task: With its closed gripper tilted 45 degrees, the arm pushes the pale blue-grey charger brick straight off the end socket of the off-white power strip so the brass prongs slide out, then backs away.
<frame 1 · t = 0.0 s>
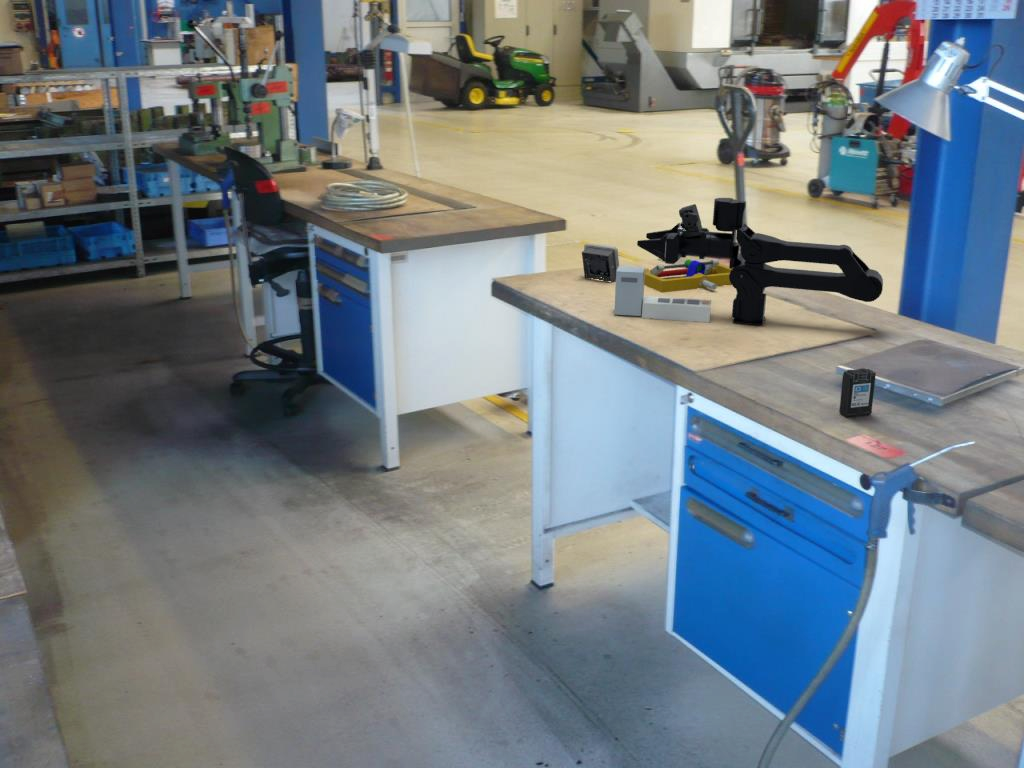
hand: (642, 239, 241), 17 cm above the workbench, tool horizontal, fingers open, 9 cm apart
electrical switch: (600, 280, 274), on the workbench
power strip: (676, 316, 242), on the workbench
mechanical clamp: (687, 287, 271), on the workbench
charger: (634, 291, 242), point 5 cm above the workbench, slide at 0.0 cm
ink cartridge: (854, 415, 184), on the workbench
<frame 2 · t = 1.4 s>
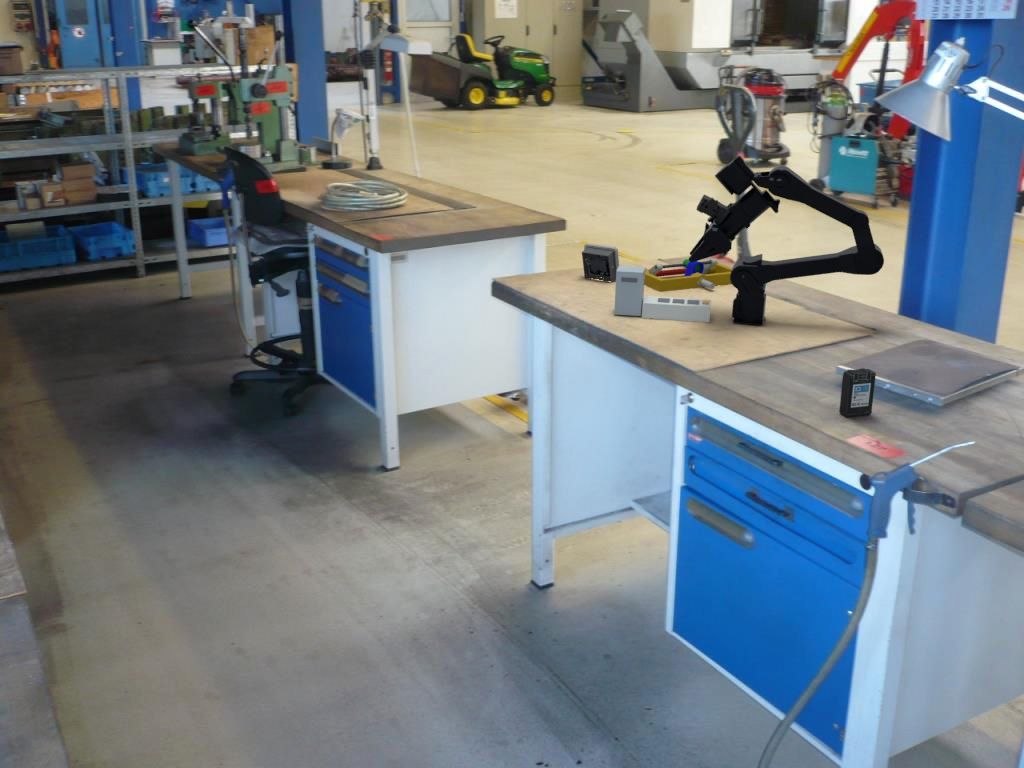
hand: (690, 258, 237), 14 cm above the workbench, tool tilted 45°, fingers open, 6 cm apart
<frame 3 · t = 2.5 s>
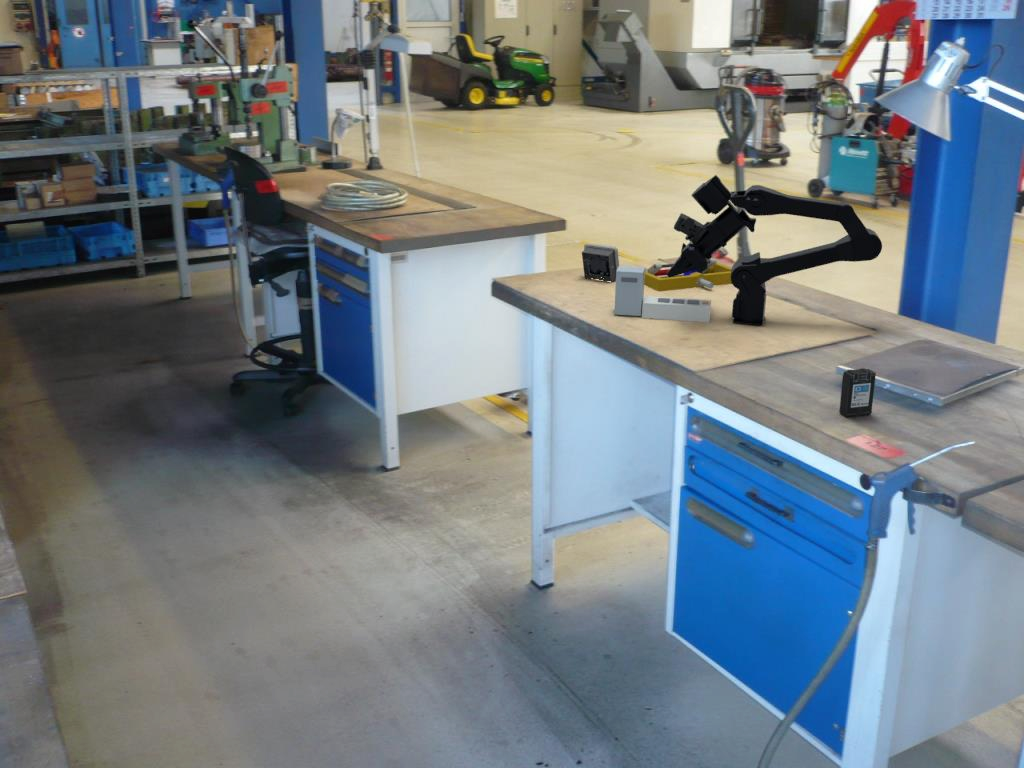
hand: (667, 275, 239), 9 cm above the workbench, tool tilted 45°, fingers closed
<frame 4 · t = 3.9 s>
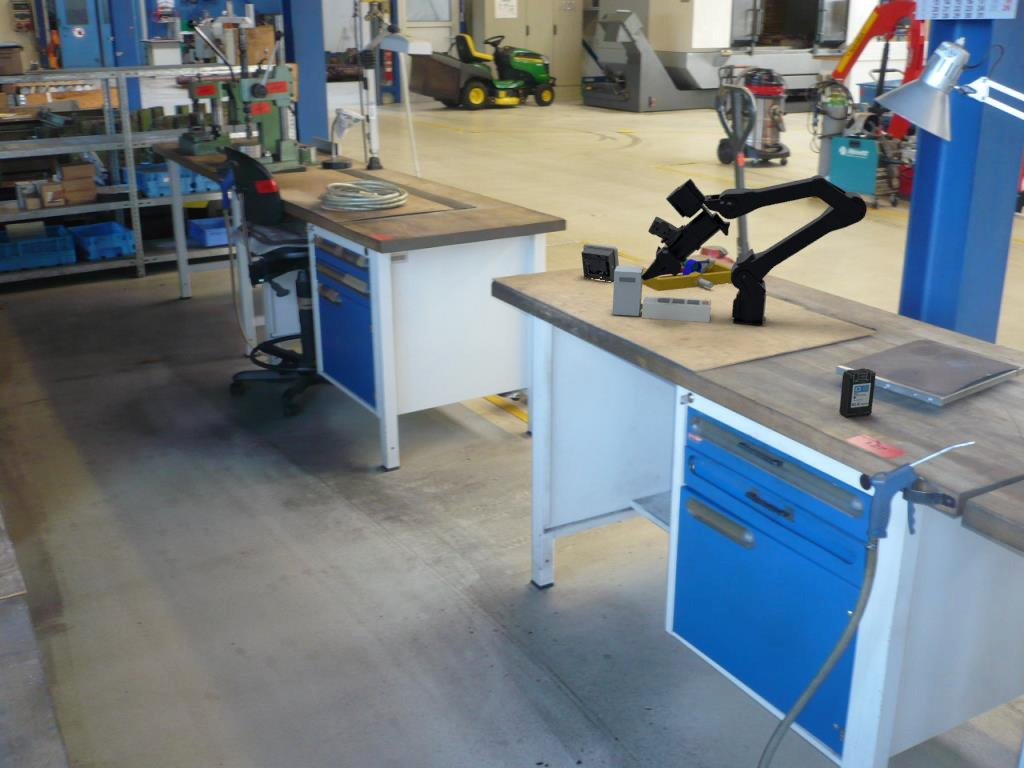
hand: (642, 278, 241), 8 cm above the workbench, tool tilted 45°, fingers closed, pressing on charger
charger: (632, 291, 242), point 5 cm above the workbench, slide at 0.4 cm, touching gripper
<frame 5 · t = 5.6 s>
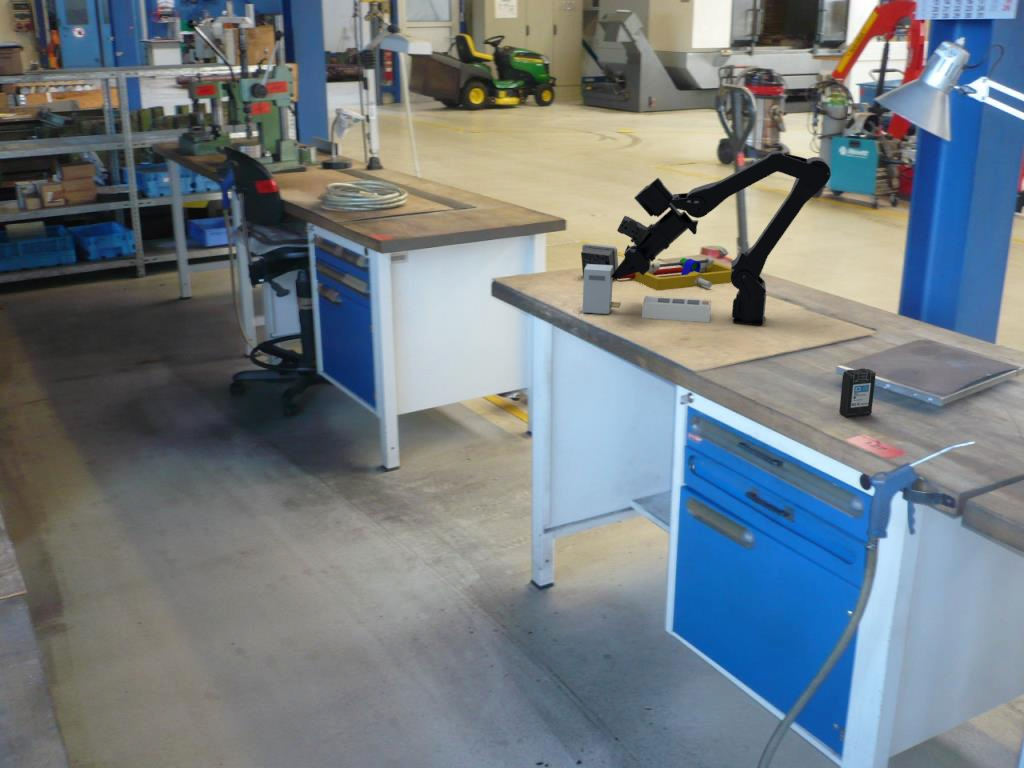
hand: (612, 277, 242), 8 cm above the workbench, tool tilted 45°, fingers closed, pressing on charger
charger: (602, 289, 243), point 5 cm above the workbench, slide at 7.3 cm, touching gripper
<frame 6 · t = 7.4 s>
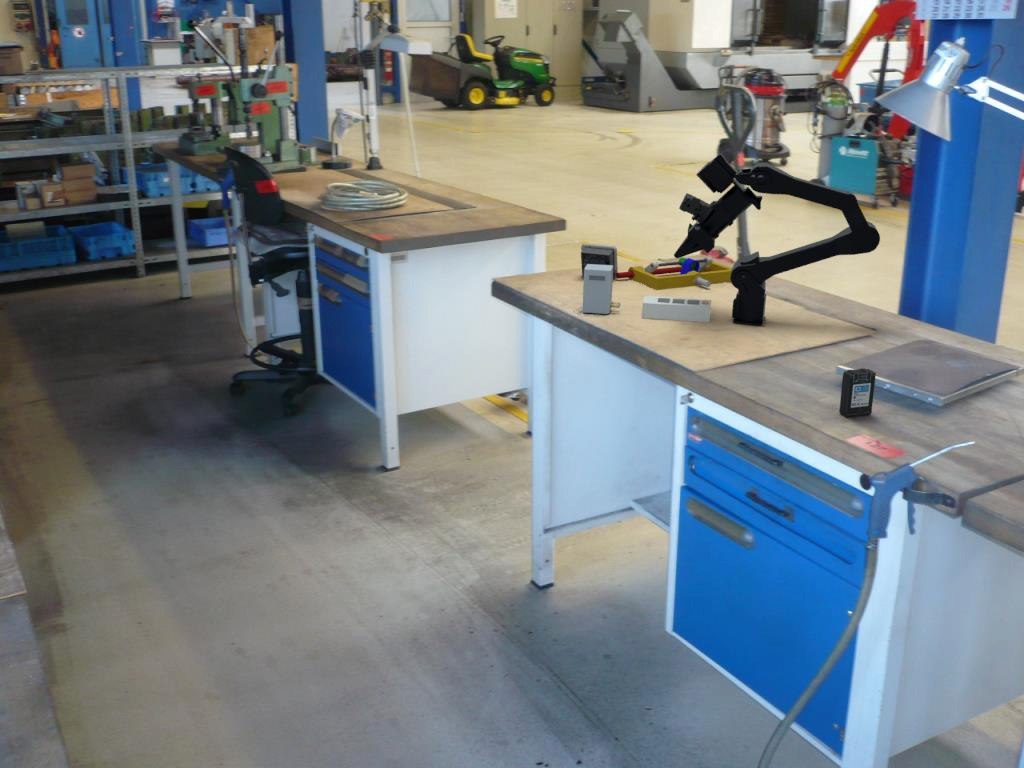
hand: (675, 256, 238), 14 cm above the workbench, tool tilted 45°, fingers closed
charger: (602, 289, 243), point 5 cm above the workbench, slide at 7.3 cm
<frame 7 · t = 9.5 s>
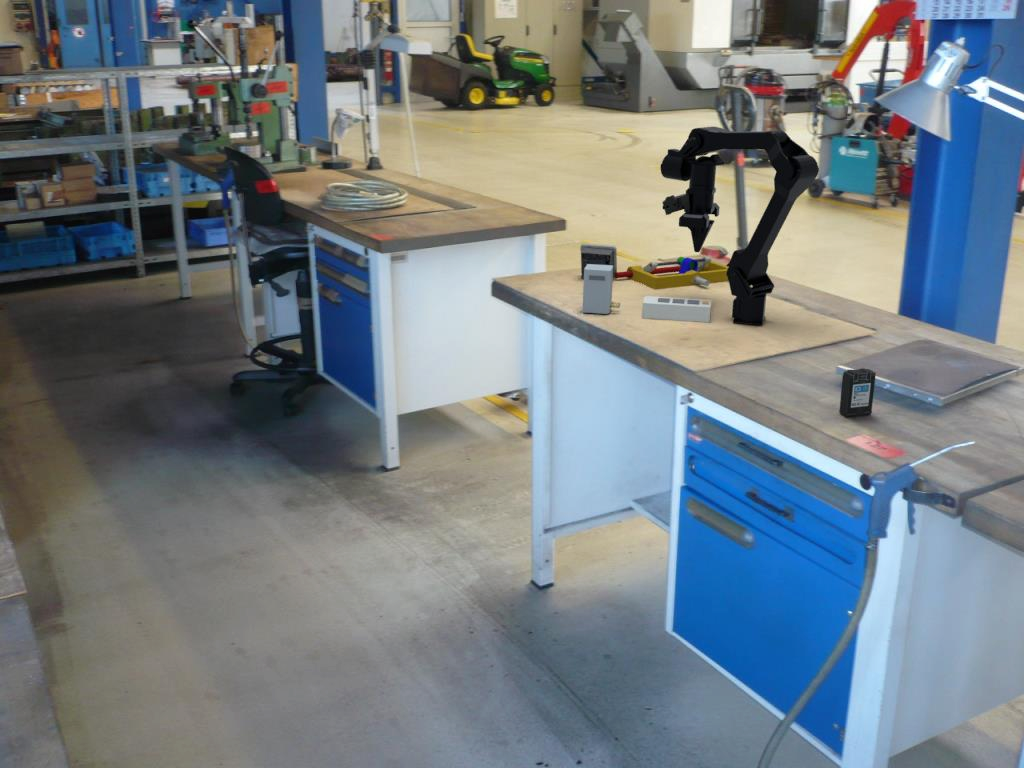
hand: (697, 251, 246), 13 cm above the workbench, tool pointing down, fingers closed
at the end: charger slide at 7.3 cm; charger moved 7.3 cm from its start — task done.
